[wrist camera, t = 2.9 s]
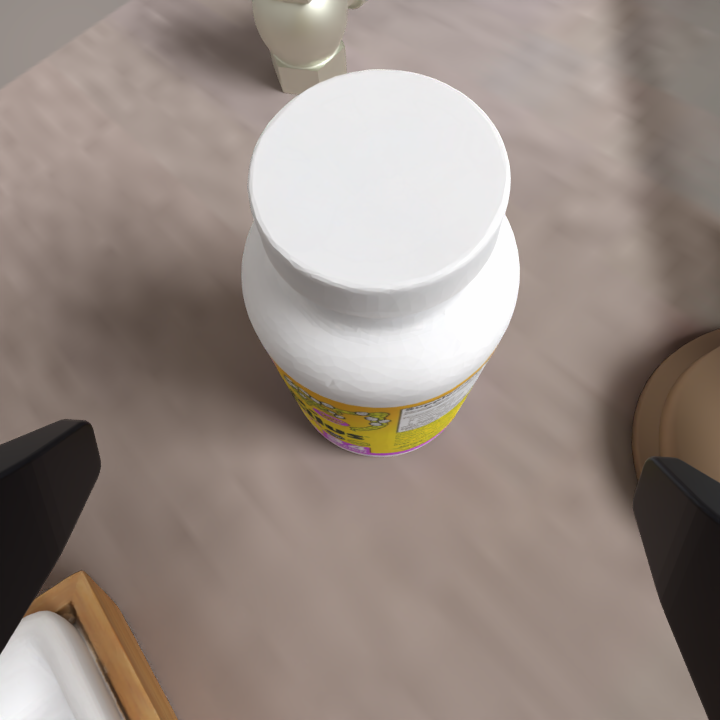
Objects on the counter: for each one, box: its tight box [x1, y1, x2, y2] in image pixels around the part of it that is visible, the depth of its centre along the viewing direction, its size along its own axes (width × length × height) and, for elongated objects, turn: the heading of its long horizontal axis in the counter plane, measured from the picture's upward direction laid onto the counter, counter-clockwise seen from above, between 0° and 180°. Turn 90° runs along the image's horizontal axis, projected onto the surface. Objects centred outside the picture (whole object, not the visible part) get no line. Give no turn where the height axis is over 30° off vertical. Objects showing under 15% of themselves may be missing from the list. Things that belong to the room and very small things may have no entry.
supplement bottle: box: [241, 69, 520, 457], centre depth 16 cm, size 7×7×13 cm
